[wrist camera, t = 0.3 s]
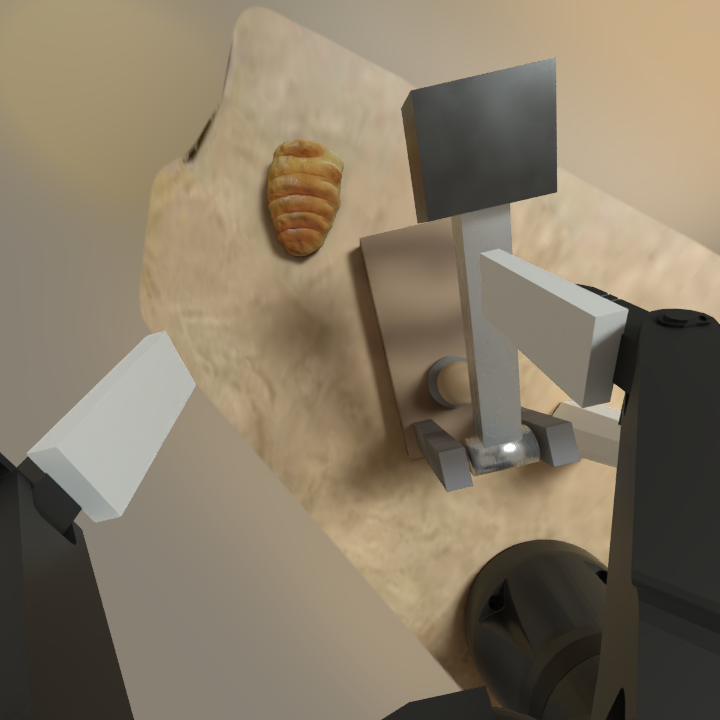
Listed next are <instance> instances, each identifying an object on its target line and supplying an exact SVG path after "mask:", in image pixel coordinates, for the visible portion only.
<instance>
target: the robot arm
mask: <svg viewBox="0 0 720 720" xmlns="http://www.w3.org/2000/svg"><path fill="white" fill-rule="evenodd" d="M480 266H481V294H482V316H483V317H484V318H485V319H487V320H488V321H489V322H490V323H491V324H492V325H493V326H494V327H495V328H496V329H497V330H498V331H499V332H501V333H502V334H503V335H504V336H505V337H506V338H507V339H508V340H509V341H510V342H511V343H512V344H513V345H514V346H516V347H517V348H518V349H519V350H520V351H521V352H522V353H523V354H524V355H525V356H526V357H527V358H528V359H530V360H531V361H532V362H533V363H534V364H535V365H536V366H537V367H538V368H539V369H540V370H541V371H542V372H544V373H545V374H546V375H547V376H548V377H549V378H550V379H551V380H552V381H553V382H554V383H555V384H556V385H557V386H559V387H560V388H561V389H562V390H563V391H564V392H565V393H566V394H567V395H568V396H569V397H570V398H571V399H573V400H574V401H575V402H576V403H577V404H578V405H579V406H580V407H581V408H586V407H590V406H595V405H599V404H603V403H607V402H610V399H611V394H612V389H613V384H616V385H617V386H618V387H620V388H621V389H622V390H624V391H625V396H624V400H623V405H622V409H621V414H620V418H619V422H618V425H621V429H620V441H619V452H618V463H617V474H616V485H615V496H614V507H613V518H612V530H611V541H610V552H609V563H608V567H606V566H605V565H604V564H603V563H602V562H600V561H599V560H598V559H597V558H596V557H594V556H593V555H592V554H590V553H589V552H587V551H586V550H584V549H582V548H580V547H577V546H575V545H572V544H569V543H566V542H562V541H555V540H536V541H529V542H525V543H521V544H519V545H516V546H513V547H511V548H509V549H507V550H505V551H504V552H502V553H501V554H499V555H498V556H496V557H495V558H494V559H493V560H492V561H490V562H489V563H488V564H487V565H486V566H485V568H484V569H483V570H482V571H481V573H480V574H479V575H478V577H477V578H476V580H475V582H474V584H473V586H472V588H471V590H470V593H469V596H468V599H467V603H466V608H465V619H464V623H465V634H466V639H467V643H468V646H469V649H470V651H471V654H472V657H473V659H474V662H475V664H476V667H477V669H478V672H479V674H480V676H481V678H482V679H483V681H484V683H485V685H486V686H487V688H488V689H489V691H490V692H491V693H492V694H493V696H494V697H495V698H496V699H497V701H498V702H499V703H500V704H501V706H502V707H503V708H504V709H503V708H497V707H492V706H491V702H490V699H489V696H488V693H487V690H486V687H485V686H483V687H478V688H473V689H469V690H464V691H460V692H455V693H451V694H446V695H442V696H436V697H432V698H427V699H423V700H418V701H413V702H409V703H407V704H406V705H405V706H403V707H401V708H400V709H398V710H396V711H395V712H393V713H392V714H390V715H388V716H387V717H385V718H384V719H382V720H720V324H719V323H718V322H717V321H716V320H715V319H714V318H713V317H711V316H709V315H707V314H705V313H701V312H697V311H693V310H685V309H661V310H655V311H651V312H649V311H646V310H644V309H642V308H640V307H637V306H635V305H633V304H631V303H628V302H626V301H624V300H622V299H618V298H617V297H615V296H613V295H610V294H609V295H608V293H606V292H604V291H602V290H599V289H597V288H595V287H590V286H585V285H580V284H573V283H571V282H569V281H567V280H565V279H563V278H560V277H558V276H556V275H554V274H552V273H550V272H548V271H546V270H543V269H541V268H539V267H537V266H535V265H533V264H531V263H528V262H526V261H524V260H522V259H520V258H518V257H516V256H513V255H511V254H509V253H507V252H505V251H503V250H501V249H495V250H491V251H487V252H483V253H480ZM195 386H196V384H195V382H194V380H193V379H192V377H191V375H190V373H189V372H188V370H187V368H186V366H185V365H184V363H183V361H182V359H181V358H180V356H179V354H178V352H177V350H176V349H175V347H174V345H173V343H172V342H171V340H170V338H169V336H168V335H167V333H166V331H163V332H158V333H154V334H150V335H147V336H146V337H145V338H144V339H143V340H142V341H141V342H140V343H139V344H138V345H137V346H136V347H135V348H134V349H133V350H132V351H131V352H130V353H129V354H128V355H127V356H126V357H125V358H124V359H123V360H122V361H121V362H119V363H118V364H117V366H115V367H114V368H113V369H112V370H111V371H110V372H109V373H108V374H107V375H106V376H105V377H104V378H103V379H102V380H101V381H100V382H99V383H98V384H97V385H96V386H95V387H94V388H93V389H92V390H91V391H90V392H89V393H88V394H87V395H86V396H85V397H84V398H83V399H82V400H81V401H80V402H79V403H78V404H77V405H75V407H74V408H72V409H71V410H70V411H69V412H68V413H67V414H66V415H65V416H64V417H63V418H62V419H61V420H60V421H59V422H58V423H57V424H56V425H55V426H54V427H53V428H52V429H51V430H50V431H49V432H48V433H47V434H46V435H45V436H44V437H43V438H42V439H41V440H40V441H39V442H38V443H37V444H36V445H35V446H34V447H33V448H32V449H30V451H28V452H27V454H26V455H27V456H28V457H27V458H26V459H25V460H24V461H23V462H22V463H21V464H20V465H19V466H18V467H17V468H16V467H15V466H14V465H13V464H12V463H11V462H10V461H9V460H8V459H7V458H5V456H3V455H2V454H1V453H0V720H134V718H133V714H132V711H131V707H130V703H129V700H128V696H127V693H126V689H125V685H124V681H123V678H122V674H121V670H120V667H119V663H118V659H117V656H116V653H115V649H114V645H113V641H112V637H111V634H110V630H109V627H108V623H107V619H106V616H105V612H104V608H103V605H102V601H101V597H100V593H99V590H98V586H97V583H96V579H95V575H94V572H93V568H92V564H91V561H90V557H89V553H88V550H87V546H86V542H85V539H84V535H83V531H82V529H81V528H80V527H79V526H78V525H77V524H76V523H75V522H74V519H75V518H76V516H77V515H78V513H79V512H80V511H81V509H82V510H83V511H84V512H85V513H86V514H87V515H88V516H89V517H90V518H91V519H92V520H93V521H94V522H99V521H104V520H108V519H112V518H116V517H120V516H122V514H123V512H124V510H125V509H126V507H127V505H128V503H129V502H130V500H131V498H132V496H133V495H134V493H135V491H136V489H137V488H138V486H139V484H140V482H141V481H142V479H143V477H144V475H145V474H146V472H147V470H148V468H149V467H150V465H151V463H152V461H153V459H154V458H155V456H156V454H157V452H158V451H159V449H160V447H161V446H162V444H163V442H164V440H165V439H166V437H167V435H168V433H169V431H170V430H171V428H172V426H173V424H174V423H175V421H176V419H177V417H178V416H179V414H180V412H181V410H182V409H183V407H184V405H185V403H186V401H187V400H188V398H189V396H190V395H191V393H192V391H193V389H194V388H195Z"/></svg>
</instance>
